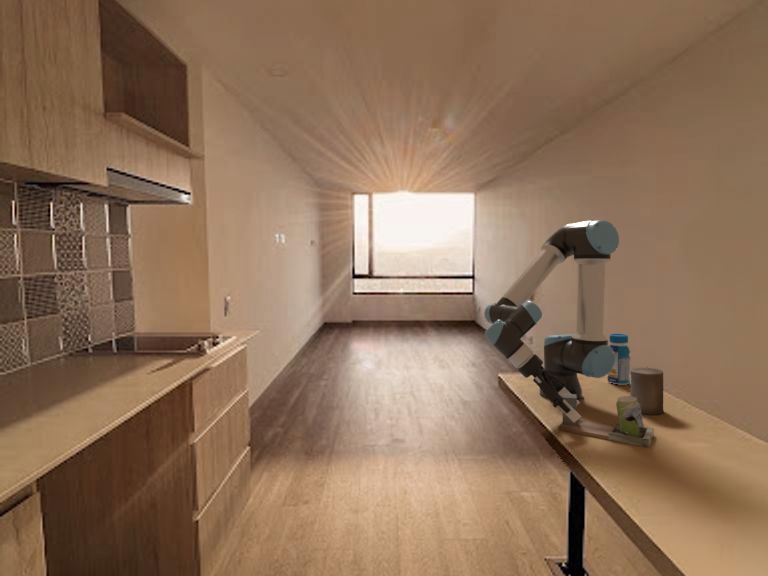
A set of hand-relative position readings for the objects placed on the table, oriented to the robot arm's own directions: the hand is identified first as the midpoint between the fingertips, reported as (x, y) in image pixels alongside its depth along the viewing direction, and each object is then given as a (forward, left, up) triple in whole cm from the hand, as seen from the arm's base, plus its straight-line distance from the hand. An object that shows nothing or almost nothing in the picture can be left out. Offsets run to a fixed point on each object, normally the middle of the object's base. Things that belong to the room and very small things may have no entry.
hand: (577, 412), depth 141 cm
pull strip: (+1, +8, -5) cm, 9 cm away
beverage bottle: (-60, +1, -5) cm, 61 cm away
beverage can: (+1, +15, -5) cm, 16 cm away
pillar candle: (-28, +15, -5) cm, 33 cm away
